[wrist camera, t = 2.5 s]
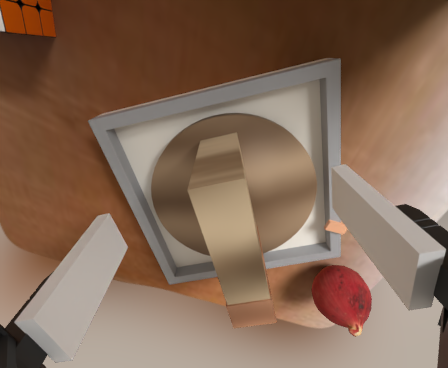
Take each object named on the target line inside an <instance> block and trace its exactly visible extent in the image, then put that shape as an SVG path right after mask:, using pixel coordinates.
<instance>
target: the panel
mask: <svg viewBox="0 0 448 368" xmlns="http://www.w3.org/2000/svg"><path fill="white" fill-rule="evenodd" d="M225 113H245V114H252V115H256V116H261V117H264V118H266V119H269V120H271V121H274V122H275V123H277V124H279V125H281V126H282V127H284V128H285V129H286V130H288V131H289V132H290V133H292V134H293V136H294V137H295V138H296V139H297V140H298V141H299V142H300V143H301V144H302V145H303V147H304V148H305V150H306V151H307V153H308V154H309V156H310V158H311V160H312V162H313V165H314V169H315V172H316V179H317V193H316V199H315V203H314V206H313V209H312V211H311V213H310V215H309V217H308V219H307V221H306V222H305V224H304V225H303V226H302V228H301V229H300V230H299V231H298V232H297V233H296V234H295V235H294V236H293V237H292V238H291V239H289V240H288V241H287V242H285V243H284V244H282V245H281V246H279V247H277V248H275V249H273V250H271V251H269V252H266V253H263V256H264V261H265V266H266V269H268V268H274V267H280V266H286V265H293V264H299V263H305V262H311V261H317V260H323V259H329V258H335V257H341V234H343V235H344V233H345V232H346V231H347V229H348V228H347V227H346V226H345V224H344V223H341V219H340V218H339V216H338V215H337V214H336V212H335V211H334V210H333V208H332V174H331V167H335V166H339V165H341V58H324V59H320V60H316V61H312V62H308V63H304V64H300V65H296V66H292V67H288V68H284V69H280V70H276V71H272V72H268V73H264V74H260V75H256V76H252V77H248V78H244V79H240V80H236V81H232V82H228V83H224V84H220V85H216V86H211V87H207V88H203V89H199V90H195V91H191V92H187V93H183V94H179V95H175V96H171V97H167V98H163V99H159V100H155V101H151V102H147V103H143V104H139V105H135V106H131V107H127V108H123V109H119V110H115V111H111V112H107V113H103V114H101V115H99V116H97V117H95V118H93V119H91V120H89V121H88V122H89V124H90V126H91V128H92V130H93V132H94V134H95V136H96V138H97V140H98V142H99V144H100V146H101V148H102V150H103V152H104V154H105V156H106V158H107V160H108V163H109V165H110V167H111V169H112V171H113V173H114V175H115V177H116V179H117V181H118V183H119V185H120V187H121V189H122V191H123V193H124V195H125V197H126V199H127V201H128V203H129V205H130V207H131V209H132V211H133V213H134V215H135V217H136V219H137V221H138V223H139V225H140V227H141V229H142V231H143V233H144V235H145V237H146V239H147V241H148V243H149V245H150V247H151V249H152V251H153V253H154V255H155V257H156V259H157V261H158V263H159V265H160V267H161V269H162V271H163V273H164V275H165V277H166V279H167V281H168V283H169V285H170V284H176V283H182V282H188V281H194V280H201V279H207V278H213V277H218V276H217V273H216V271H215V268H214V265H213V262H212V259H211V256H208V255H204V254H201V253H199V252H196V251H194V250H192V249H190V248H188V247H186V246H185V245H183V244H182V243H180V242H179V241H177V240H176V239H175V238H174V237H173V236H172V235H171V234H170V233H169V232H168V231H167V230H166V229H165V227H164V226H163V225H162V223H161V222H160V220H159V218H158V216H157V214H156V211H155V209H154V206H153V201H152V196H151V183H152V176H153V172H154V168H155V166H156V164H157V161H158V159H159V157H160V156H161V154H162V152H163V151H164V149H165V148H166V146H167V145H168V144H169V142H170V141H171V140H172V139H173V138H174V137H175V136H176V135H177V134H178V133H179V132H181V131H182V130H183V129H185V128H186V127H188V126H189V125H191V124H193V123H195V122H197V121H199V120H201V119H204V118H207V117H210V116H213V115H219V114H225Z"/></svg>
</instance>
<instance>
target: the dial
mask: <svg viewBox="0 0 448 368" xmlns="http://www.w3.org/2000/svg"><path fill="white" fill-rule="evenodd" d="M316 193H317V179H316V172H315V169H314V165H313V162H312V160H311V158H310V156H309V154H308V153H307V151H306V150H305V148H304V147H303V145H302V144H301V143H300V142H299V141H298V140H297V139H296V138H295V137H294V136H293V134H292V133H290V132H289V131H288V130H286V129H285V128H284V127H282V126H281V125H279V124H277V123H275V122H274V121H271V120H269V119H266V118H264V117H261V116H256V115H252V114H245V113H225V114H219V115H213V116H210V117H207V118H204V119H201V120H199V121H197V122H195V123H193V124H191V125H189V126H188V127H186V128H185V129H183V130H182V131H181V132H179V133H178V134H177V135H176V136H175V137H174V138H173V139H172V140H171V141H170V142H169V144H168V145H167V146H166V148H165V149H164V151H163V152H162V154H161V156H160V157H159V159H158V161H157V164H156V166H155V168H154V172H153V176H152V183H151V196H152V201H153V206H154V209H155V211H156V214H157V216H158V218H159V220H160V222H161V223H162V225H163V226H164V227H165V229H166V230H167V231H168V232H169V233H170V234H171V235H172V236H173V237H174V238H175V239H176V240H177V241H179V242H180V243H182V244H183V245H185V246H186V247H188V248H190V249H192V250H194V251H196V252H199V253H201V254H204V255H208V256H211V259H212V262H213V265H214V268H215V271H216V273H217V276H218V279H219V282H220V285H221V288H222V291H223V294H224V296H225V299H226V308H227V310H228V313H229V316H230V319H231V322H232V324H233V327H234V328H241V327H248V326H255V325H262V324H269V323H277V321H276V316H275V311H274V306H273V301H272V296H271V291H270V286H269V281H268V276H267V271H266V266H265V261H264V256H263V253H266V252H269V251H271V250H273V249H275V248H277V247H279V246H281V245H282V244H284V243H285V242H287V241H288V240H289V239H291V238H292V237H293V236H294V235H295V234H296V233H297V232H298V231H299V230H300V229H301V228H302V226H303V225H304V224H305V222H306V221H307V219H308V217H309V215H310V213H311V211H312V209H313V206H314V203H315V199H316Z"/></svg>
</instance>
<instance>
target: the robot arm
mask: <svg viewBox="0 0 448 368" xmlns="http://www.w3.org/2000/svg"><path fill="white" fill-rule="evenodd" d="M331 174H332V208H333V210H334V211H335V212H336V214H337V215H338V216H339V218H340V219H341V220H342V222H343V223H344V224H345V226H346V227H347V228H348V230H349V231H350V232H351V234H352V235H353V236H354V238H355V239H356V240H357V242H358V243H359V245H360V246H361V247H362V249H363V250H364V251H365V253H366V254H367V255H368V257H369V258H370V259H371V261H372V262H373V263H374V265H375V266H376V267H377V269H378V270H379V271H380V273H381V274H382V275H383V277H384V278H385V279H386V281H387V282H388V283H389V285H390V286H391V287H392V289H393V290H394V291H395V293H396V294H397V295H398V297H399V298H400V299H401V301H402V302H403V303H404V305H405V306H406V307H407V309H408V310H414V309H421V308H428V307H431V306H432V302H433V298H434V296H435V297H436V298H437V299H438V300H439V302H440V303H441V304H442V305H443V309H442V313H441V316H440V320H439V323H438V325H439V326H441V328H440V342H439V355H438V367H437V368H448V231H447V230H445V229H444V228H443V227H441V226H438V224H437V223H436V222H435V221H433V220H432V219H430V218H429V217H428V216H427V215H426V214H424V213H423V212H422V211H420V210H419V209H416V208H414V207H411V206H409V205H407V204H404V205H399V206H394V205H393V204H392V203H391V202H390V201H388V200H387V199H386V198H385V197H384V196H383V195H381V194H380V193H379V192H378V191H377V190H375V189H374V188H373V187H372V186H371V185H369V184H368V183H367V182H366V181H365V180H364V179H362V178H361V177H360V176H359V175H358V174H356V173H355V172H354V171H353V170H352V169H351V168H349V167H348V166H347V165H346V164H344V165H339V166H335V167H331ZM127 248H128V246H127V245H126V243H125V241H124V239H123V237H122V235H121V233H120V232H119V230H118V228H117V226H116V224H115V222H114V221H113V219H112V217H111V215H110V213H108V214H103V215H99V216H97V217H96V218H95V220H94V221H93V222H92V224H91V225H90V226H89V227H88V229H87V230H86V231H85V233H84V234H83V235H82V236H81V238H80V239H79V240H78V241H77V243H76V244H75V245H74V247H73V248H72V249H71V250H70V252H69V253H68V254H67V255H66V257H65V258H64V259H63V261H62V262H61V263H60V264H59V266H58V267H57V268H56V269H55V271H53V272H52V273H51V274H50V275H49V276H48V277H47V278H46V279H44V281H43V282H42V283H41V284H40V285H39V286H38V288H37V289H36V291H35V292H34V293H33V294H32V295H31V296H30V299H29V300H28V301H26V303H25V304H24V305H23V306H22V308H21V309H20V310H19V312H18V313H17V314H16V315H15V316H14V318H13V319H12V320H11V322H10V323H9V324H8V325H7V327H6V328H4V327H3V326H2V325H0V368H46V367H45V366H44V365H43V364H42V363H43V361H44V360H45V358H46V356H47V355H48V356H49V357H50V358H51V359H52V360H53V361H54V362H55V363H57V362H64V361H71V360H73V358H74V356H75V354H76V352H77V350H78V348H79V346H80V344H81V342H82V340H83V338H84V336H85V334H86V332H87V330H88V328H89V326H90V324H91V322H92V319H93V318H94V316H95V313H96V311H97V309H98V307H99V305H100V303H101V301H102V299H103V297H104V295H105V293H106V291H107V289H108V287H109V285H110V283H111V281H112V279H113V277H114V275H115V273H116V271H117V269H118V267H119V265H120V263H121V261H122V259H123V257H124V255H125V253H126V251H127Z"/></svg>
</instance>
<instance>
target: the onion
mask: <svg viewBox="0 0 448 368" xmlns="http://www.w3.org/2000/svg"><path fill="white" fill-rule="evenodd" d="M312 295H313V299H314V303H315V305H316V307H317V308H318V310H319V311H320V312H321V313H322V314H323V315H324V316H325V317H326V318H328V319H329V320H330V321H331V322H333V323H335V324H338V325H340V326H343V327H347V328H348V329H349V332H350V333H351V334H352V335H353V336H355V337H356V336H358V335H360V334H361V332H362V328H363V324H364V322H365V321H366V320H367V319H368V317H369V313H370V311H371V300H372V299H371V293H370V290H369V288H368V286H367V284H366V283H365V282H364V280H363V279H362V278H361V276H360V275H359V274H358V273H357V272H355V271H354V270H352V269H350V268H347V267H345V266H340V265H332V266H327V267H324V268H323V269H322V270H321V271H320V272H319V273H318V274H317V275H316V277H315V278H314V281H313V284H312Z"/></svg>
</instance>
